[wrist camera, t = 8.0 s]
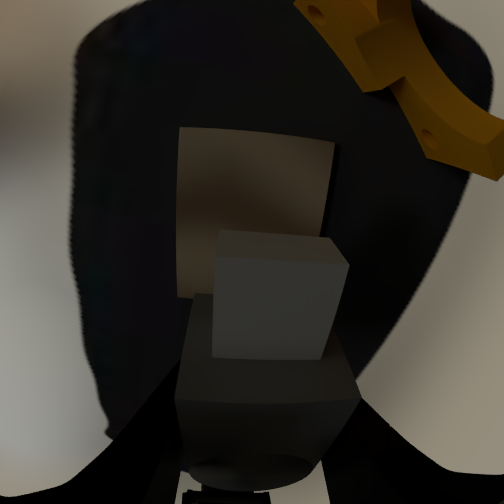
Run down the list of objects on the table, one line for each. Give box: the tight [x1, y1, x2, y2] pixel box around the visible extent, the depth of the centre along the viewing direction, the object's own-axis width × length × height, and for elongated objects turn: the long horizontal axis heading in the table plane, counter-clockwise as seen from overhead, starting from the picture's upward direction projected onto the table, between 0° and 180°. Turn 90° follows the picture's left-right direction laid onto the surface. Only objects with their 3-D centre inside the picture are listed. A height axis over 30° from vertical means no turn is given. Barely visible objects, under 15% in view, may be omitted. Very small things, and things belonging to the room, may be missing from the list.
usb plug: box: [174, 229, 362, 491], centre depth 8 cm, size 9×4×4 cm, turn 174°
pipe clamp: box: [294, 0, 504, 181], centre depth 10 cm, size 12×4×6 cm, turn 37°
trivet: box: [176, 127, 335, 298], centre depth 16 cm, size 10×8×1 cm
